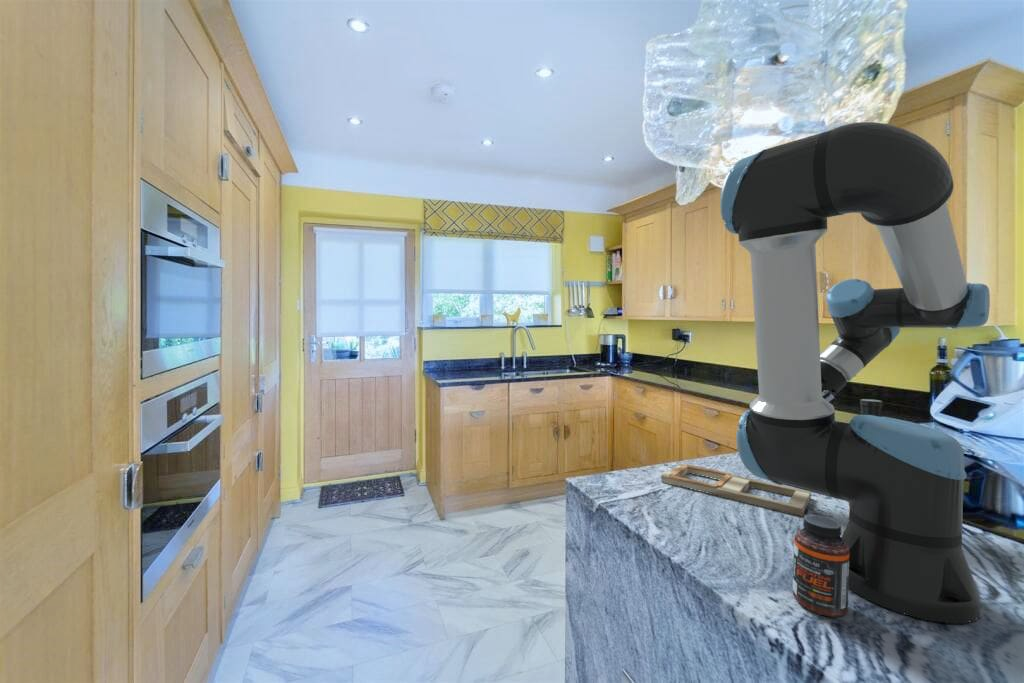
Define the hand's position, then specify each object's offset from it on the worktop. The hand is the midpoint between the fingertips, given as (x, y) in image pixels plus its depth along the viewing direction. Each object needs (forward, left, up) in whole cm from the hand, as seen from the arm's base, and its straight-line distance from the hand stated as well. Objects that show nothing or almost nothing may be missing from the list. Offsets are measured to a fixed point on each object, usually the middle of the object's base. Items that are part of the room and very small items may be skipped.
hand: (752, 444), depth 91 cm
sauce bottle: (+28, -19, -12) cm, 36 cm away
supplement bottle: (-34, -16, -12) cm, 39 cm away
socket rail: (+2, +4, -12) cm, 13 cm away
